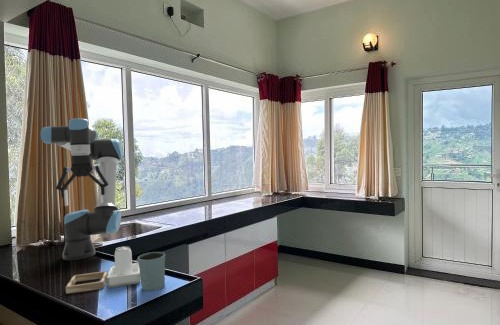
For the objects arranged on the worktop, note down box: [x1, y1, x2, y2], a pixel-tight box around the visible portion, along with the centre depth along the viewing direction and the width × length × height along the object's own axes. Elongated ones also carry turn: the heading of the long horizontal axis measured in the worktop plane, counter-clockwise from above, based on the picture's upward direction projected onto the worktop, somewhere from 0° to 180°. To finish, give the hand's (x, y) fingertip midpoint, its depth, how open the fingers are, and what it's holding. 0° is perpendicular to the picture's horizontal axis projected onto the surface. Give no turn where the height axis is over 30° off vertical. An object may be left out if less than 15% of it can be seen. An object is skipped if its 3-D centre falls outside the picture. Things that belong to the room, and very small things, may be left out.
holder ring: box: [65, 270, 109, 295], centre depth 133 cm, size 13×13×2 cm
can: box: [114, 245, 133, 276], centre depth 137 cm, size 6×6×12 cm
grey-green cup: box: [137, 251, 166, 292], centre depth 128 cm, size 10×10×12 cm
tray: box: [106, 262, 141, 289], centre depth 137 cm, size 14×12×4 cm
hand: (84, 204), depth 144 cm, fingers open, 13 cm apart
